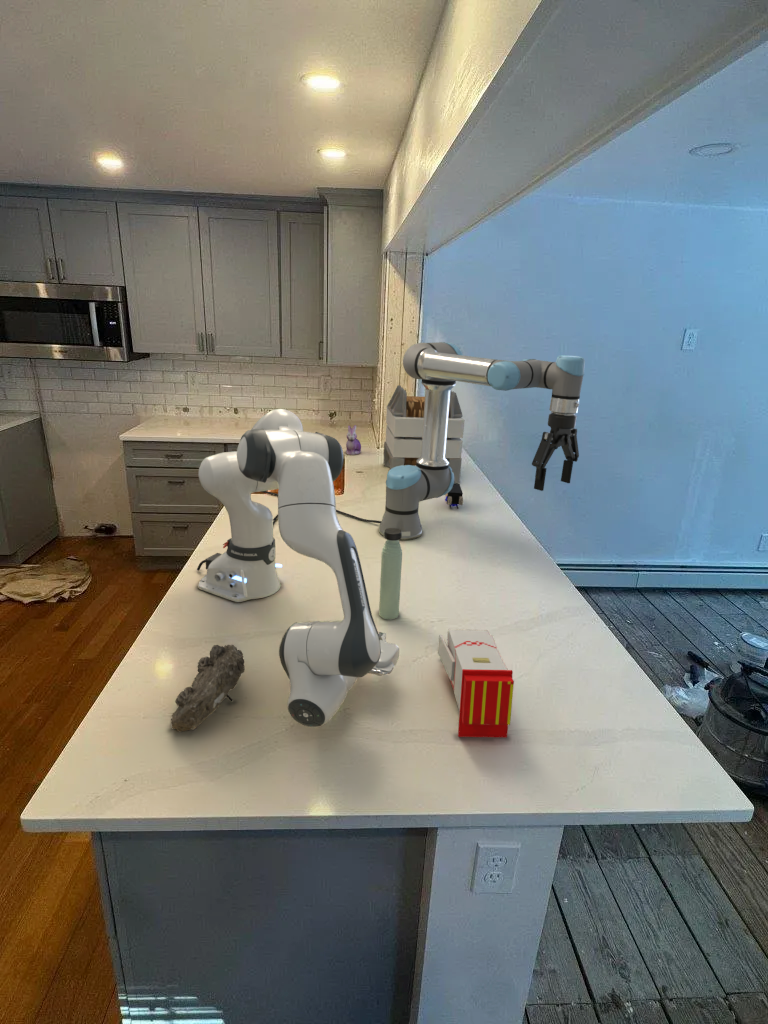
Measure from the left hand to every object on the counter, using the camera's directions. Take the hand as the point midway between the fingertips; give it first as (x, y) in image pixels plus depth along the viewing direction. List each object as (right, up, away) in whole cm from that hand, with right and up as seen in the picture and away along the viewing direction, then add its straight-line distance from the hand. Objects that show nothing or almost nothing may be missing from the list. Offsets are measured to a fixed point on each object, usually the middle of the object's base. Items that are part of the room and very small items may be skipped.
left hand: (362, 631), depth 126 cm
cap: (+7, +22, +13) cm, 26 cm away
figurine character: (+33, +29, +106) cm, 115 cm away
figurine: (-12, +58, +180) cm, 190 cm away
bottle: (+6, 0, +21) cm, 22 cm away
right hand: (+54, +34, +39) cm, 75 cm away
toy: (+23, -11, -8) cm, 26 cm away
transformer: (+22, +45, +149) cm, 157 cm away
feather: (-34, +25, +86) cm, 96 cm away
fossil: (-29, -11, -13) cm, 34 cm away
